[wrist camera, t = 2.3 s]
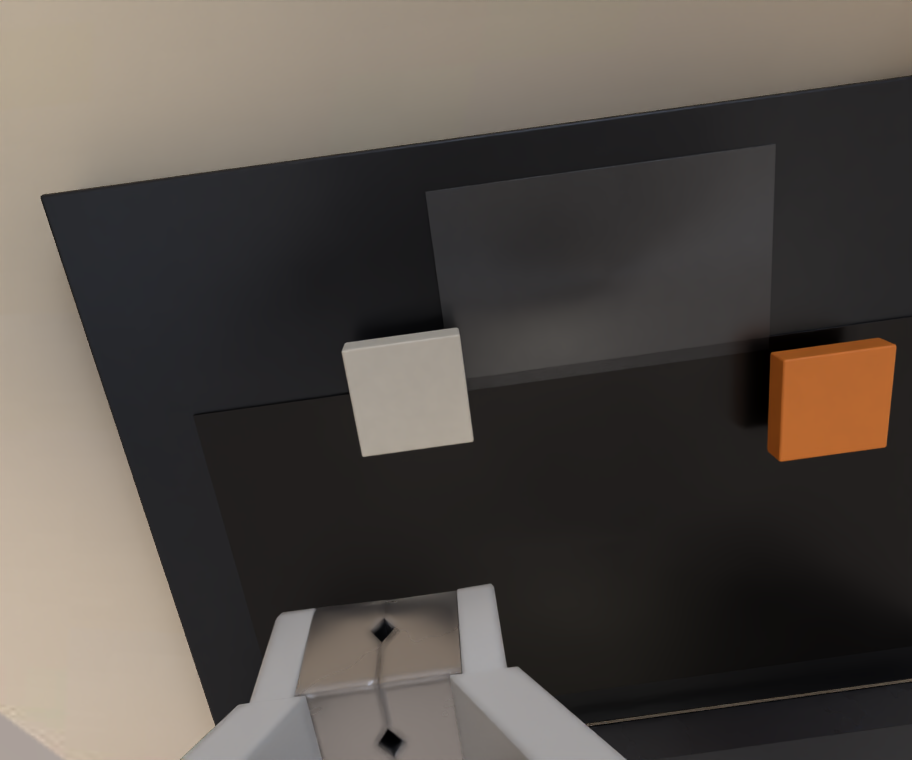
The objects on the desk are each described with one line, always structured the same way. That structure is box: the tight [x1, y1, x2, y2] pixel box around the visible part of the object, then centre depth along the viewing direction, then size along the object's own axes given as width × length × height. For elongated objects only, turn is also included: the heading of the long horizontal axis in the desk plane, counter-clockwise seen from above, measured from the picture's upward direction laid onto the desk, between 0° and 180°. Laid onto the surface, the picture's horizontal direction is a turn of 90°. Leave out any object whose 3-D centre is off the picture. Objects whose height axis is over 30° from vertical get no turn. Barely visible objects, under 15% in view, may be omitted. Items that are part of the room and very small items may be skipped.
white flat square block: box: [342, 328, 474, 457], centre depth 18 cm, size 3×3×1 cm
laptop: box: [41, 75, 912, 726], centre depth 22 cm, size 21×30×2 cm
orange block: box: [767, 338, 896, 462], centre depth 19 cm, size 3×3×1 cm
